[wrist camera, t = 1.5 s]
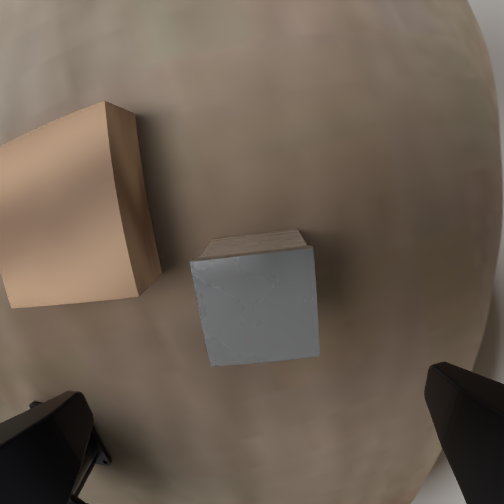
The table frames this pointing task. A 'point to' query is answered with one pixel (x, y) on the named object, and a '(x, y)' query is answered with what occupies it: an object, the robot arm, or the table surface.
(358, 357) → the table surface
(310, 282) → the grey cube
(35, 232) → the tan block
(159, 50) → the table surface
